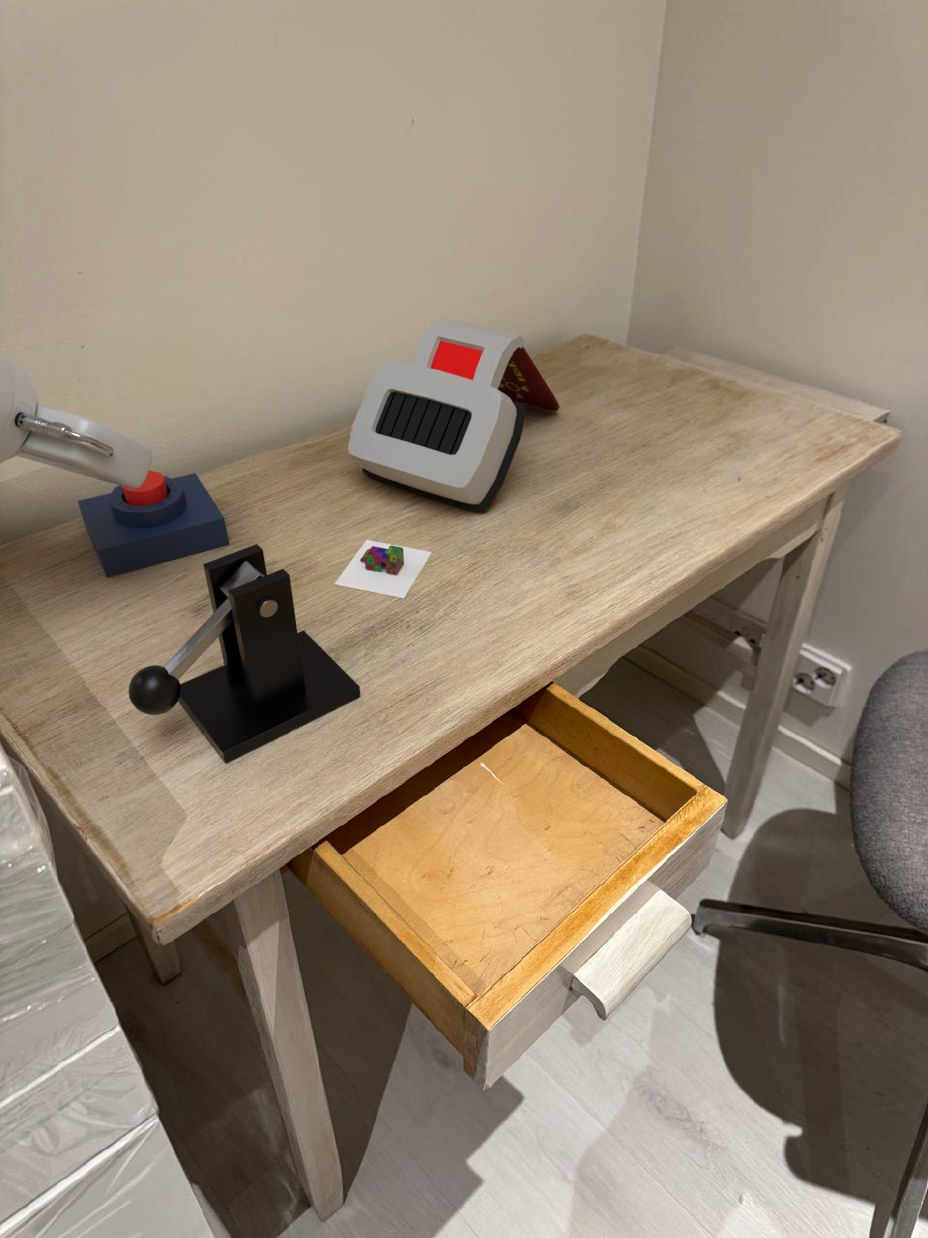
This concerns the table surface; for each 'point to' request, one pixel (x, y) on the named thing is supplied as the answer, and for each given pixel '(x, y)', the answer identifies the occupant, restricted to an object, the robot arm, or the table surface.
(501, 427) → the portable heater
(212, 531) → the stop box
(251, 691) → the switch bracket
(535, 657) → the table surface
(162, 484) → the stop button
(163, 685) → the lever
